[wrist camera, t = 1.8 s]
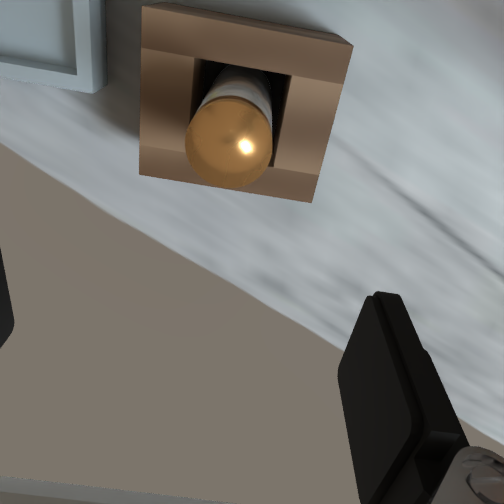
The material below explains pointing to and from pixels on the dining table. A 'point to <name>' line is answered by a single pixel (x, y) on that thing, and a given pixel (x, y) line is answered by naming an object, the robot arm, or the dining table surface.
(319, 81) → the block
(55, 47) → the tray
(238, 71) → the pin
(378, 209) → the dining table surface
